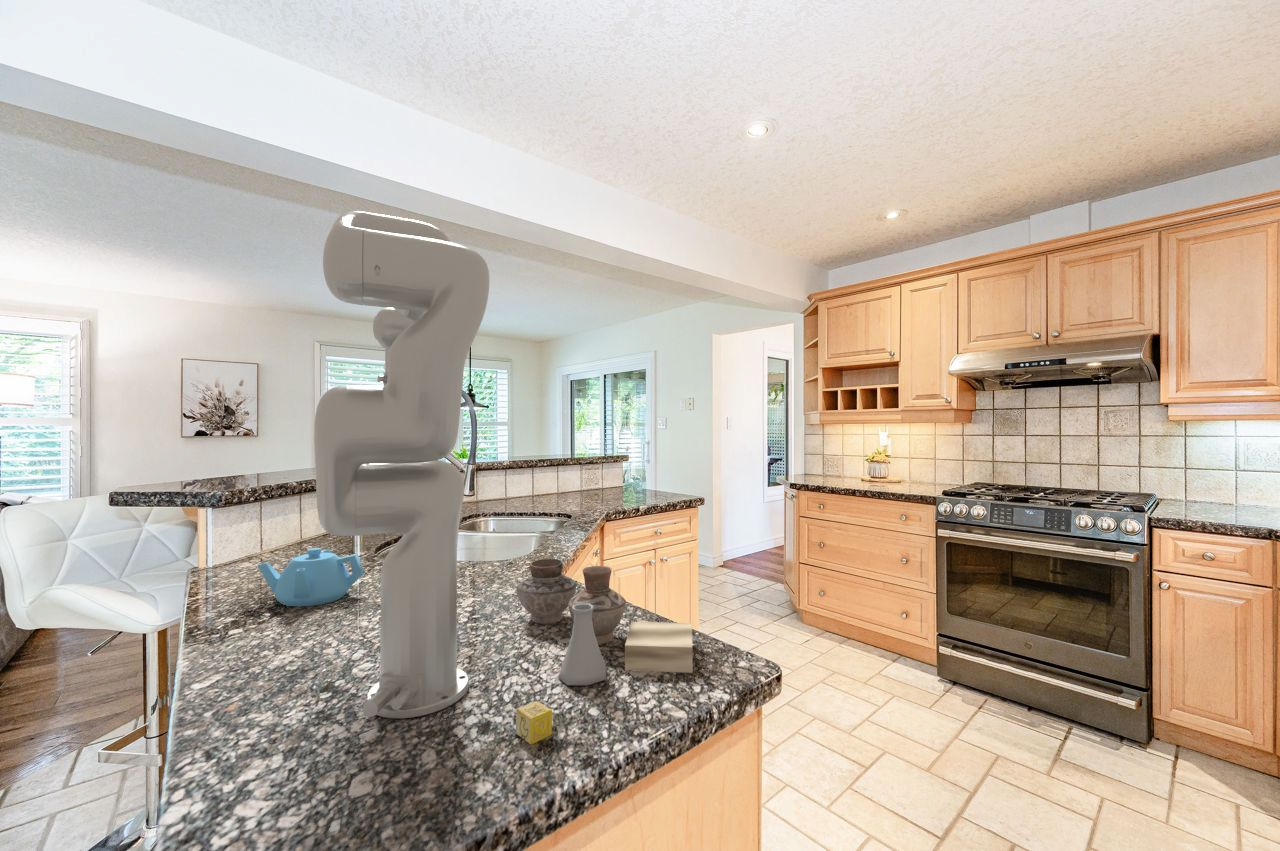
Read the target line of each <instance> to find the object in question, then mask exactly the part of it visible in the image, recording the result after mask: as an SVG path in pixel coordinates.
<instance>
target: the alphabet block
mask: <svg viewBox="0 0 1280 851" xmlns="http://www.w3.org/2000/svg"><path fill="white" fill-rule="evenodd" d="M515 712H516V715H515V717H516V718H515V734H516V735H517V736H518V737H520V738H521V739H523V740H524V741H525V742H527V743H528V744H529V745H533V744H535V743H537V742H540V741H541V740H544V739H545V738H547V737H549V736H551V735H552V731H553V730H552V728H553V725H552V724H553V710H552V709H551V708H549V707H547V706H546V705H544V704H542V702H539V701H538V700H535V701H532V702H530V703H526V704H525V705H522V706H520V707H517V708H516V711H515Z"/></svg>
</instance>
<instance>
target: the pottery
mask: <svg viewBox="0 0 1280 851" xmlns="http://www.w3.org/2000/svg"><path fill="white" fill-rule="evenodd" d="M529 570H530V573H531V574H530V576H528V577H527V578H525V579H524V580H523V581H521V582H519V583H518V584H517V586H516V589H515V590H516V596H517V598H518V601H519V602H520V604H521V605H522V607H523V608H524V609H525V611H526V612H528V613H529V614H530V619H531V621H532V622H534V623H535V624H542V625H545V624H554V623H557V622H559V621H561V620H562V618H563V612H564V611H566V610H567V608H568V610H569V614H570V616H571V620H572V621H573V623H574V612H572V607H573V605H576V604H591V605H593V606H594V608H593V612H592V624H593V630H594V634H595V637H596V640H597V643H598V645H605V644H608V643H611V642H612V641H614V639H615V635H614V630H615V629H616V628H618V626H619V624H620V623H621V620H622V618H623V616H624V612H625V609H626V603H627V601H626V599H625V598H624V597H623V595H621V594H619V593H618V592H617V591H615V590H613V589H612V588H611V587H610V580H611V575H612V568H611V567H610V566H604V565H603V566H602V565H595V566H593V565H592V566H586V567H584V568H582V573H583V578H584V587H585V588H584V589H582V590H581V591H580V592H578V593H577V594H576V591H577V583H576V581H575V580H573V579H571V578H570V577H569V576H567V575H565V574H562V572H563V561H562V560H560V559H557V558H541V559H537V560H533V561H531V562H530V563H529Z"/></svg>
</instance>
